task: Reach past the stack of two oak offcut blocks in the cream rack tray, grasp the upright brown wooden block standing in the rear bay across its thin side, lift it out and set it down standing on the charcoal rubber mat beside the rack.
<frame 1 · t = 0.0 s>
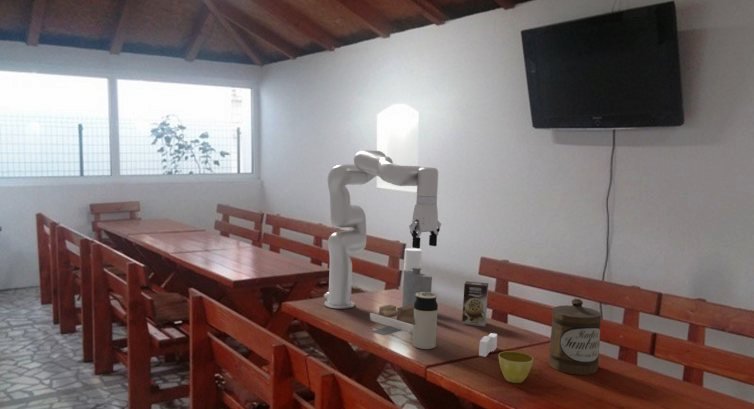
hand: (424, 246, 231), 31 cm above the table, tool pointing down, fingers open, 9 cm apart
rack: (401, 324, 239), on the table
offcut low: (386, 319, 244), resting on rack, touching offcut top
hip flask: (414, 316, 252), on the table
flower pot: (514, 380, 184), on the table
coffee box: (474, 324, 245), on the table
napkin holder: (489, 353, 210), on the table
offcut top: (387, 312, 244), point 3 cm above the table, touching offcut low
mat: (386, 331, 229), on the table
travel mug: (423, 346, 213), on the table
brown wooden block: (406, 325, 237), resting on rack
cylindrical container: (410, 307, 266), on the table
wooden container: (572, 367, 198), on the table
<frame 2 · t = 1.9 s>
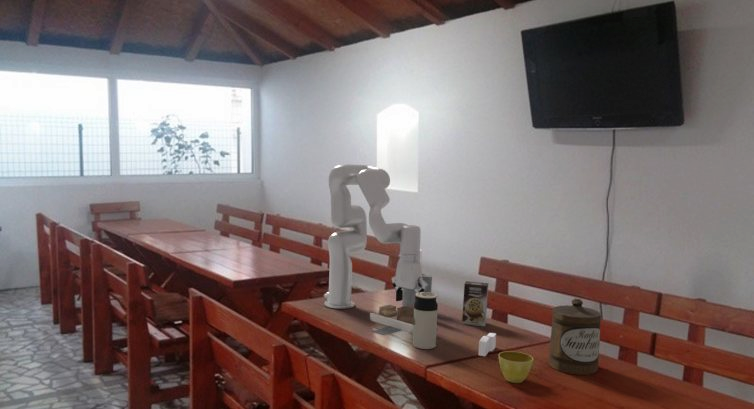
hand: (408, 302, 236), 9 cm above the table, tool pointing down, fingers open, 9 cm apart
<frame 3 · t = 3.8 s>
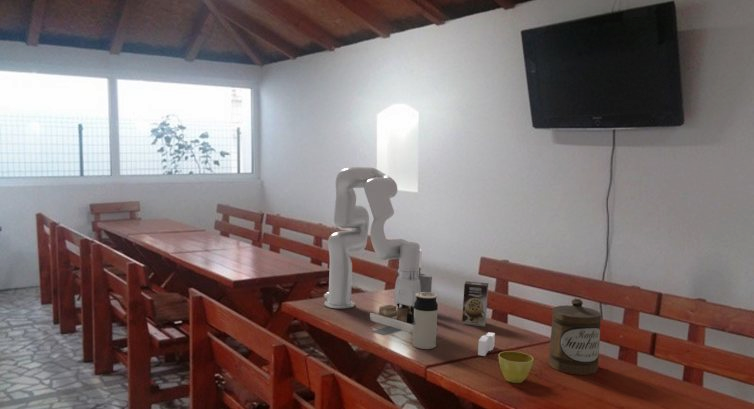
hand: (406, 322, 237), 2 cm above the table, tool pointing down, fingers closed on brown wooden block, 2 cm apart
brown wooden block: (406, 325, 237), resting on rack, touching gripper
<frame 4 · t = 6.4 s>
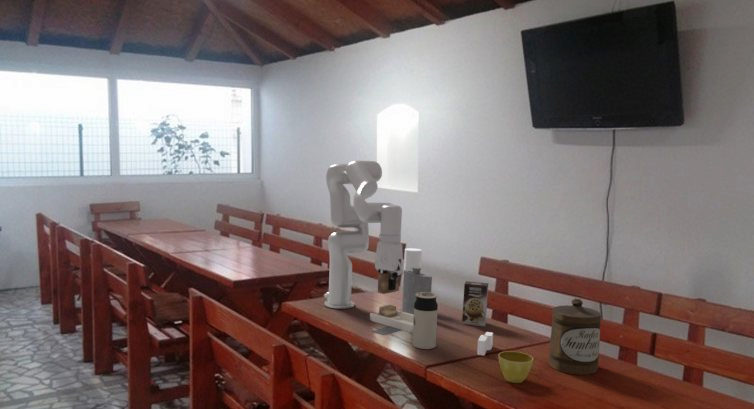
hand: (388, 288, 227), 16 cm above the table, tool pointing down, fingers closed on brown wooden block, 3 cm apart
brown wooden block: (388, 291, 227), point 15 cm above the table, touching gripper
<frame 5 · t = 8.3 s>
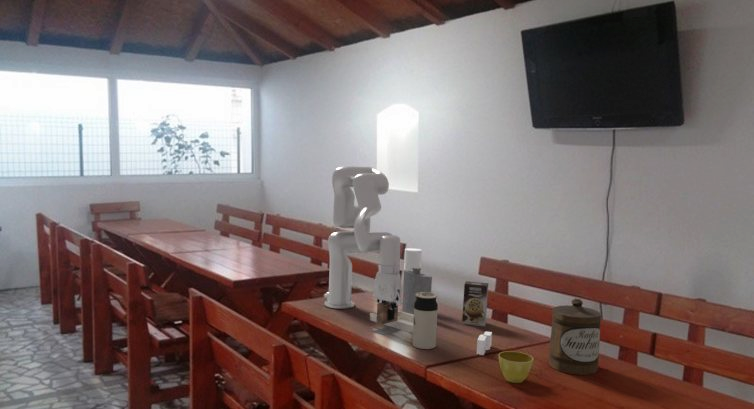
hand: (387, 318, 228), 5 cm above the table, tool pointing down, fingers closed on brown wooden block, 3 cm apart
brown wooden block: (387, 321, 228), point 4 cm above the table, touching gripper
when the fingers open (3 cm above the table, at t = 9.4 s): brown wooden block drops 1 cm, resting on mat.
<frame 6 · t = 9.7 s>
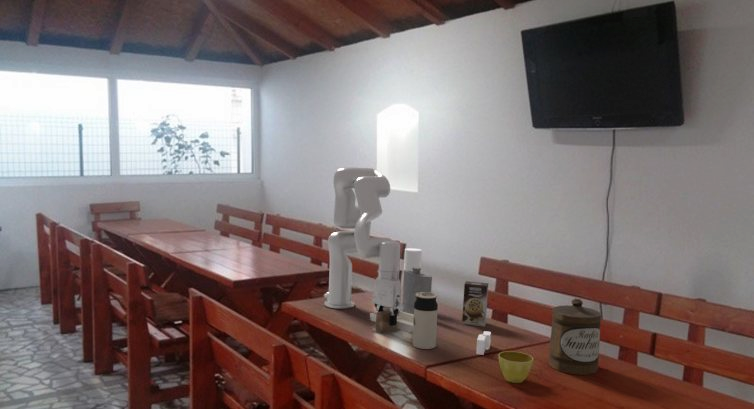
hand: (386, 323, 228), 3 cm above the table, tool pointing down, fingers open, 5 cm apart
brown wooden block: (386, 330, 229), resting on mat
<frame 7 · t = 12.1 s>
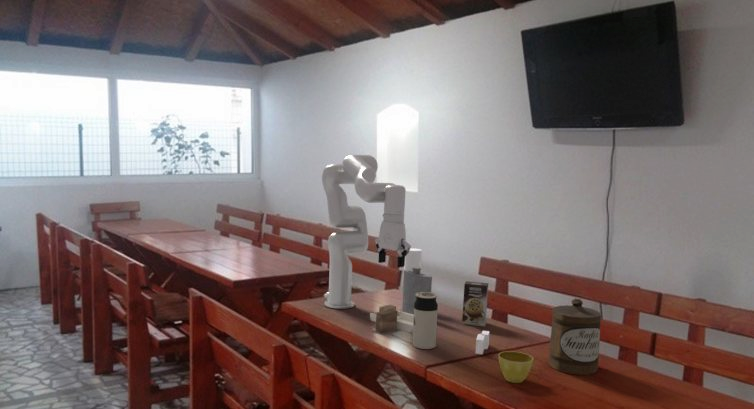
hand: (391, 264, 230), 24 cm above the table, tool pointing down, fingers open, 9 cm apart
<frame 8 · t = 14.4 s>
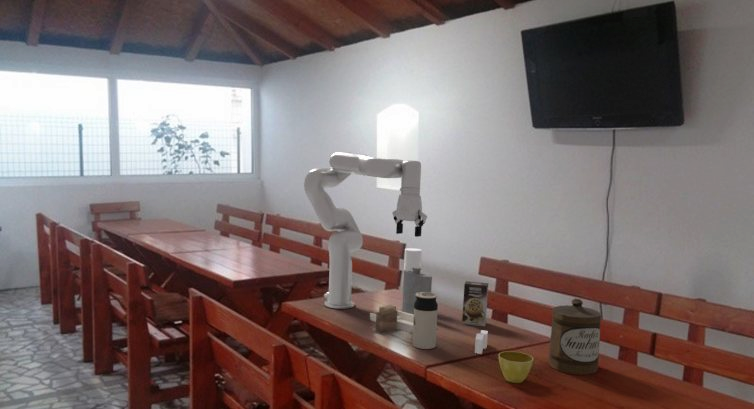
hand: (408, 234, 247), 33 cm above the table, tool pointing down, fingers open, 9 cm apart
at the end: brown wooden block inside the target area on the mat (0.2 cm from its centre), point 0.4 cm above the mat's base; brown wooden block tilted 0°; the gripper is holding nothing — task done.
